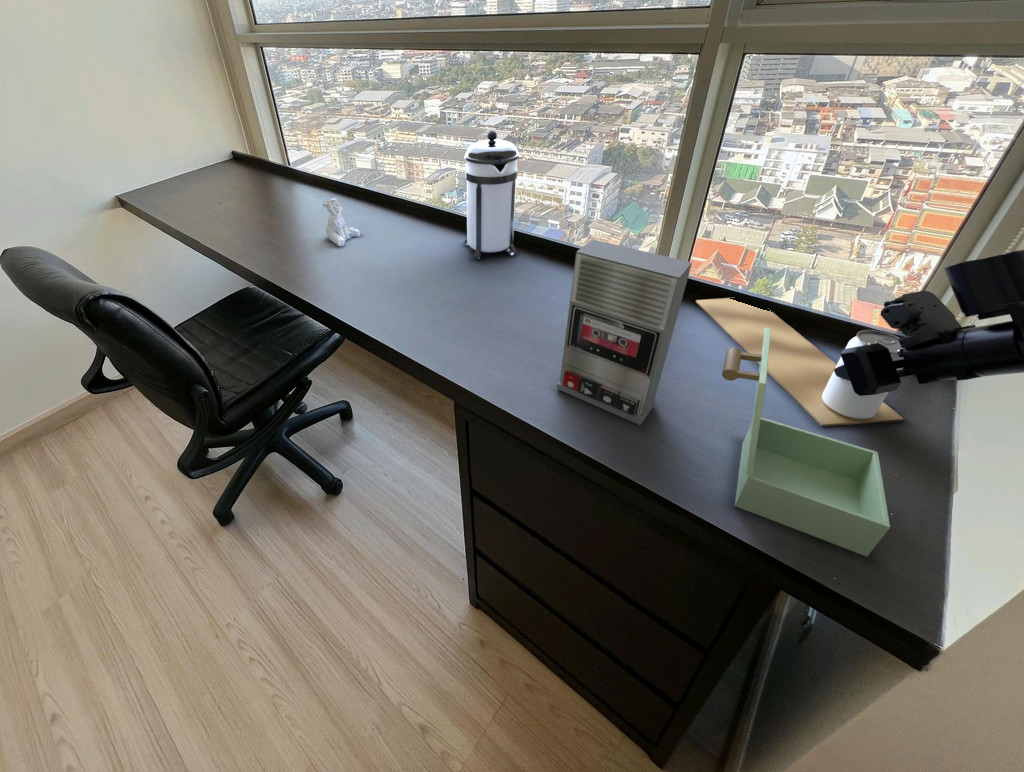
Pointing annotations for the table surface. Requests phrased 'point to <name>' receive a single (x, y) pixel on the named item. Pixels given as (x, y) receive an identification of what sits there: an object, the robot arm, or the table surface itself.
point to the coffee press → (491, 195)
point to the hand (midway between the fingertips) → (854, 368)
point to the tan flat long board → (787, 358)
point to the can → (841, 391)
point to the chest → (815, 486)
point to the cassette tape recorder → (620, 326)
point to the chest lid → (733, 373)
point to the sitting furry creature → (338, 223)
